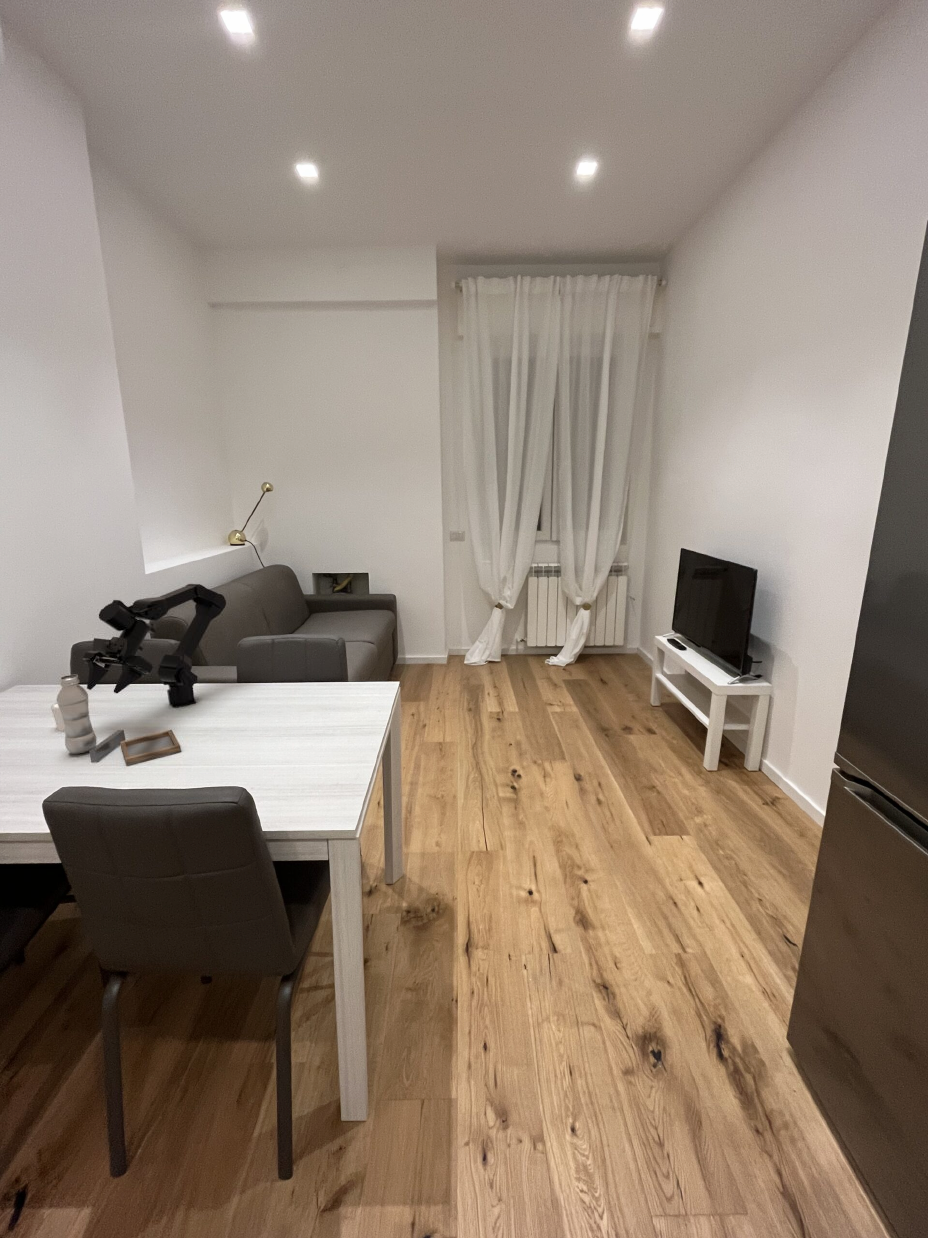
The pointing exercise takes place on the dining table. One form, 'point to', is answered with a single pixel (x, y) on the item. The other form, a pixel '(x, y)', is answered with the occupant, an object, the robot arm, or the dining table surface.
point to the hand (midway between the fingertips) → (101, 691)
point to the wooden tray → (149, 747)
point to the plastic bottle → (75, 715)
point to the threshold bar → (106, 746)
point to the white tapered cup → (58, 717)
